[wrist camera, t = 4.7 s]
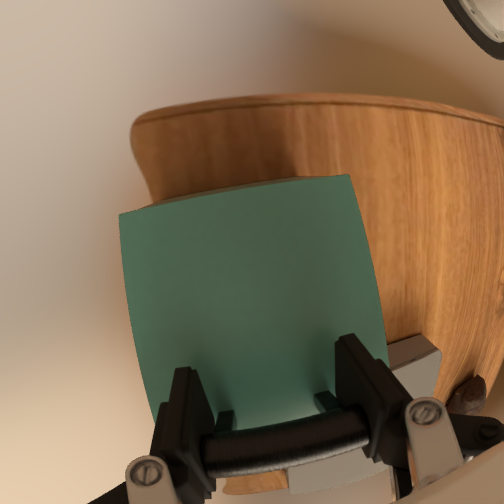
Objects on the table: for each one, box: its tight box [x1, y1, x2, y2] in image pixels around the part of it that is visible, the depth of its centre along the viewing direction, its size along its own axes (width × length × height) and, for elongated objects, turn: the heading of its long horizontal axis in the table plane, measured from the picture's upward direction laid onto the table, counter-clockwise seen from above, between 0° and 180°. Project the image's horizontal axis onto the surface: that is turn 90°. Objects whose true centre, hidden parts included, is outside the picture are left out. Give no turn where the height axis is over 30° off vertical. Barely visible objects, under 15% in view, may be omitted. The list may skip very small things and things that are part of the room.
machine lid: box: [119, 174, 390, 479], centre depth 10 cm, size 11×11×5 cm
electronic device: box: [285, 335, 442, 494], centre depth 27 cm, size 19×22×5 cm
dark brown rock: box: [446, 374, 486, 416], centre depth 30 cm, size 6×7×10 cm
